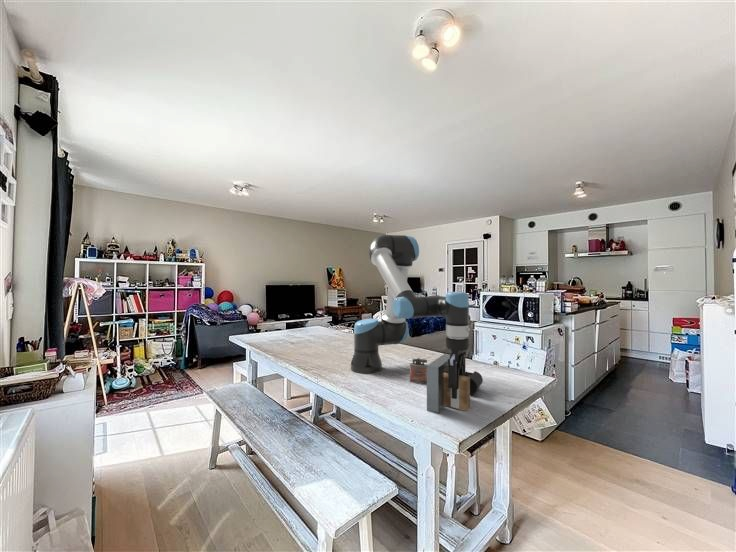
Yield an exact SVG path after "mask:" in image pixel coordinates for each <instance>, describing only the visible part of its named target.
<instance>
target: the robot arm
mask: <svg viewBox="0 0 736 552" xmlns="http://www.w3.org/2000/svg"><path fill="white" fill-rule="evenodd" d="M419 255H420V246H419V243H418V241H417V239H416V238H415V237H414V236H411V235H405V234H404V235H399V234H398V235H397V234H396V235H394V234H381V235H380V234H379V236H376V237H375V238H374V239H373V240H372V241H371V243H370V245H369V247H368V256H369V257H368V258H369V260H370V261H371V263H372V265H374V266H376V268H377V269H378V271H379V273H380V275H381V277H382V279H383V280H384V283H385V285H386V286H387V294H386V295H387V297H386V305H385V311H384V312H385V313H384V314H382V316H381V321H379V320H378V318H365V319H360V320H357V321H356V322H355V323H354V326H353V327H354V329H353V338H354V339H353V340H354V341H353V349H354V350H353V352H354V353H353V356H352V359H351V362H350V370H351V371H353V372H355V373H361V374H371V373H378V372H380V371H381V370H382V369H383V364H382V360H381V357H380V353H379V347H380V346H388V345H389V346H391V345H400V344H403V343H405V342H406V341H407V339H408V337H409V333H410V329H409V324H408V322H407V321H406V319H407V320H408V319H416V318H418V319H419V318H434V317H436V318H437V317H441V318H445V336H446V338H445V346H446V348H447V349H448V350H450V354H449V355H450V359H448V388H451V407H450V408H452V407H454V408H453V409H456V408H458V409H457V410H460V409H459V388H458V385H459V375H461V376H465V372H466V356H467V353H466V351H467V350H468V349H469V348H470V347H469V346H470V344H469V343H470V342H469V341H470V339H469V334H470V333H469V332H470V331H471V328H470V327H469V325H470V323H469V321H470V320H469V318H470V317H469V313H470V303H469V300H470V299H469V294H468V293H467V292H464V291H448V292H446V294H445V296H442V295H439V294H438V295H436V294H435V295H429V296H416V294H415V292H414V291H413V290H412V288H411V286H410V285H409V283H408V277H409V269H410V268H412V267H413V262H415V261H417V260H418V258H419V257H420V256H419Z"/></svg>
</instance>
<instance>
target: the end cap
mask: <svg viewBox="0 0 736 552" xmlns="http://www.w3.org/2000/svg"><path fill="white" fill-rule="evenodd" d="M465 376H467V377H470V397H471V396H473V395H474V394H476V392H478V390H479V389H480V387H481V386H482V384H483V382H484V380H483V376H482V375H481V373H480V372H479V371H477V370H476V371H475V370H474V371H473V372H469V371H465Z"/></svg>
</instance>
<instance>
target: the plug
mask: <svg viewBox="0 0 736 552" xmlns="http://www.w3.org/2000/svg"><path fill="white" fill-rule="evenodd" d="M458 388H459V409H458V408H454V407H451V388H448V373H444V407H448V408H453V409H457V410H461V411H465V412H467V411H468V409H469V408H471V407H470V406H471V396H470V377H467V376H461V375H459V385H458Z"/></svg>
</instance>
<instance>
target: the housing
mask: <svg viewBox="0 0 736 552" xmlns="http://www.w3.org/2000/svg"><path fill="white" fill-rule="evenodd" d="M448 359H450V354H447V353H443V354H442V355H440V356H439V357H438V358H436V359H434V360H433V361H432V362H430V363H429V364H427V384H426V411H428V412H431V413H435V414H439V413H440V412H441V411H442V410H443V409H444V407H445V406H444V373H448Z"/></svg>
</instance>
